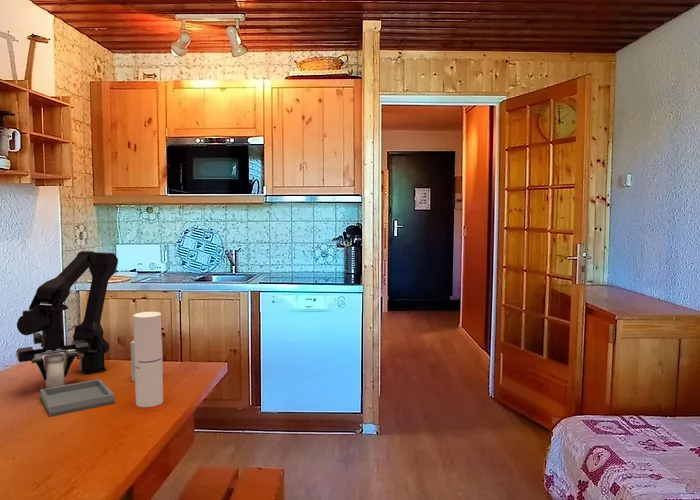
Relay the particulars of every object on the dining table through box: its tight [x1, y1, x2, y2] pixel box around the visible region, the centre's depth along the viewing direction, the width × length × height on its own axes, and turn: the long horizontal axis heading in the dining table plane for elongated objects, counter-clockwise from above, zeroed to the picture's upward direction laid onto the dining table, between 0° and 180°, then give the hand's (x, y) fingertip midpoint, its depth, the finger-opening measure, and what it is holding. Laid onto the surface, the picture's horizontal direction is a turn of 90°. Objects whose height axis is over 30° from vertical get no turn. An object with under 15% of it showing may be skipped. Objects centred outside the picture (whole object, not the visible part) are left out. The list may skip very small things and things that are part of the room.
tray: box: [39, 378, 116, 417], centre depth 157 cm, size 16×16×2 cm
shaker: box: [43, 352, 66, 389], centre depth 166 cm, size 5×5×10 cm
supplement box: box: [129, 340, 164, 382], centre depth 176 cm, size 7×7×13 cm
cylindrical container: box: [132, 311, 164, 408], centre depth 155 cm, size 7×7×25 cm
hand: (55, 378), depth 167 cm, fingers closed on shaker, 5 cm apart
